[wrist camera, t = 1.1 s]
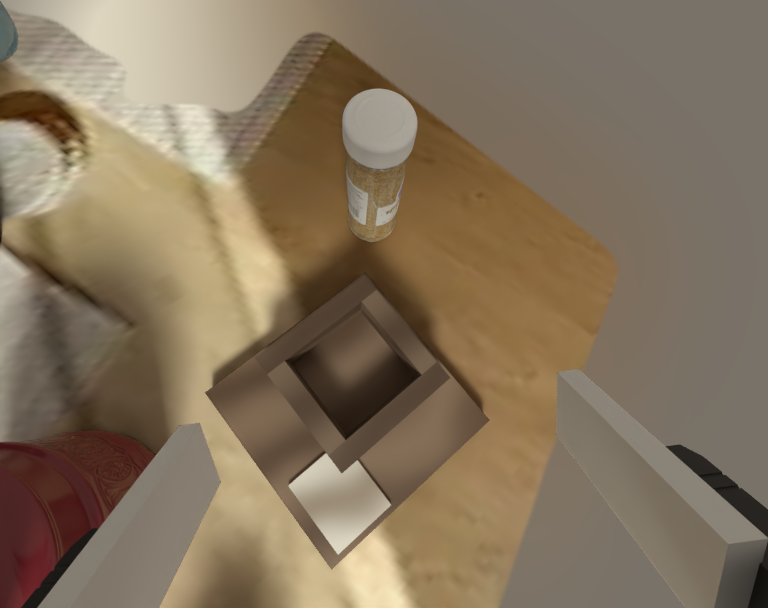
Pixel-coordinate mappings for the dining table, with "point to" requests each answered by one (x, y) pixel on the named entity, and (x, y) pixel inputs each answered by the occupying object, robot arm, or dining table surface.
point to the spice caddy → (347, 415)
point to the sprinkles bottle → (376, 159)
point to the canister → (58, 499)
